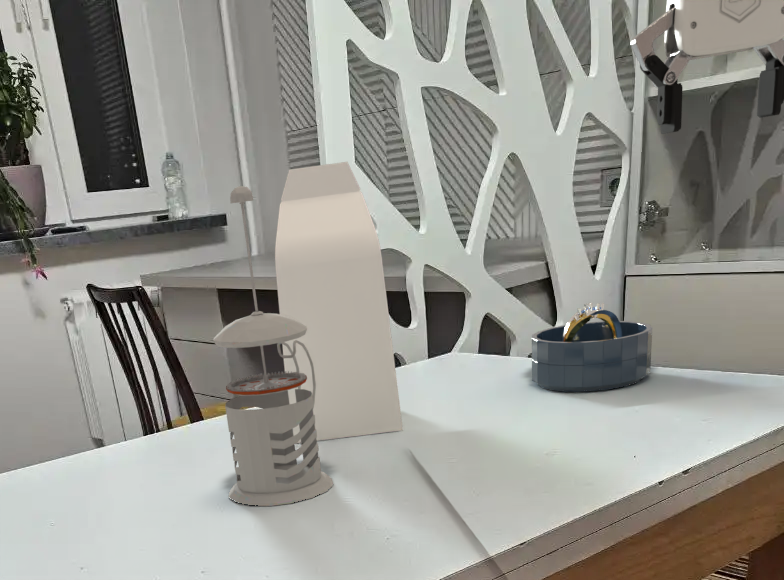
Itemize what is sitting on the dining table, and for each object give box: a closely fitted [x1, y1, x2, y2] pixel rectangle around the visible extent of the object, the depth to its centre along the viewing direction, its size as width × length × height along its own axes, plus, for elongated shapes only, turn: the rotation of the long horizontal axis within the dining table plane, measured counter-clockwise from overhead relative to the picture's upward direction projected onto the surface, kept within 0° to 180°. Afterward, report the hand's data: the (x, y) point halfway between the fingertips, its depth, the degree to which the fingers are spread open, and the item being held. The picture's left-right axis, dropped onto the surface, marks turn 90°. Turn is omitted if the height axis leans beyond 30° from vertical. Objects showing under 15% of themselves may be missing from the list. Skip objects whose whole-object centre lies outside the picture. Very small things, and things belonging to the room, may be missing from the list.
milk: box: [274, 161, 404, 444], centre depth 96 cm, size 12×12×26 cm
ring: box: [562, 302, 622, 342], centre depth 105 cm, size 7×3×8 cm, turn 96°
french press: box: [212, 185, 334, 507], centre depth 78 cm, size 10×12×25 cm
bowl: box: [531, 320, 653, 393], centre depth 106 cm, size 13×13×6 cm
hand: (719, 124), depth 89 cm, fingers open, 9 cm apart
